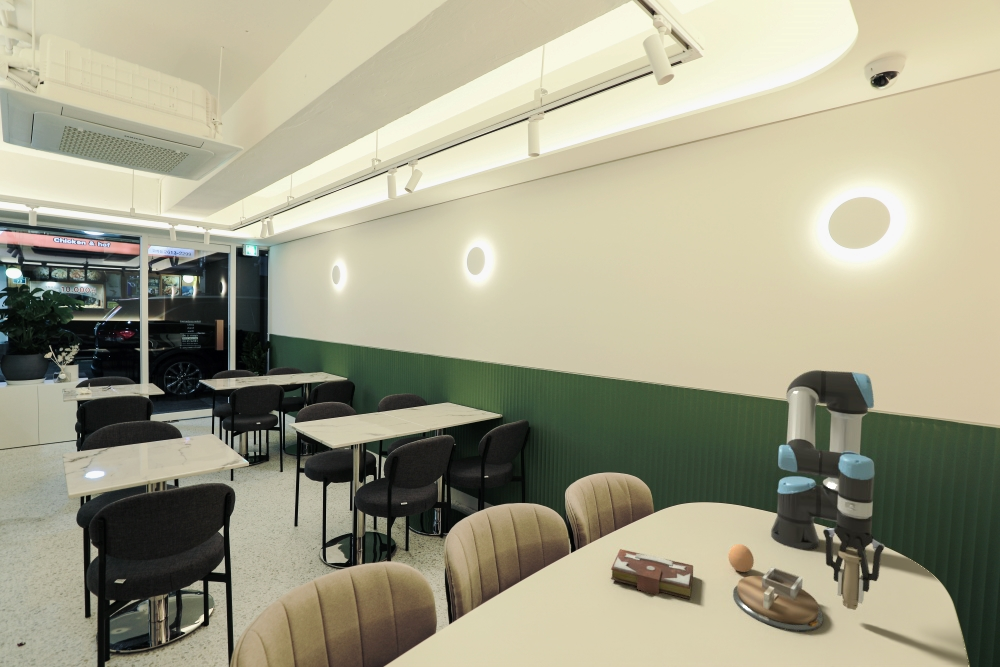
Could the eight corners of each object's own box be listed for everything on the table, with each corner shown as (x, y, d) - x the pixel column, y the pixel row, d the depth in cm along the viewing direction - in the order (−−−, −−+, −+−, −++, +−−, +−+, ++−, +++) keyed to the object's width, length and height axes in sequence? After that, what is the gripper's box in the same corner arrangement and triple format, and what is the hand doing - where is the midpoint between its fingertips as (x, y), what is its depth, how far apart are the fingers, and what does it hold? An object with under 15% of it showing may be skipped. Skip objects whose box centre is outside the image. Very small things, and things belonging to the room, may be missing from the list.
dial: (750, 574, 149) (751, 556, 149) (826, 603, 135) (826, 582, 134) (726, 600, 135) (727, 579, 135) (807, 634, 121) (808, 611, 120)
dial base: (748, 576, 150) (748, 571, 150) (830, 607, 135) (831, 602, 135) (721, 604, 135) (721, 599, 135) (811, 643, 119) (811, 637, 119)
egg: (747, 579, 149) (748, 552, 148) (724, 569, 154) (725, 544, 154) (756, 571, 154) (757, 545, 153) (733, 562, 159) (734, 537, 159)
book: (693, 577, 150) (693, 562, 150) (689, 603, 136) (690, 586, 136) (619, 560, 160) (620, 545, 160) (609, 583, 146) (610, 567, 146)
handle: (868, 611, 127) (871, 556, 126) (847, 613, 126) (849, 558, 125) (852, 600, 131) (855, 547, 131) (832, 602, 131) (834, 549, 130)
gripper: (813, 507, 131) (810, 589, 132) (892, 528, 119) (888, 618, 120) (820, 500, 136) (817, 579, 137) (896, 519, 124) (892, 605, 125)
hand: (850, 597), depth 128 cm, fingers closed on handle, 4 cm apart
